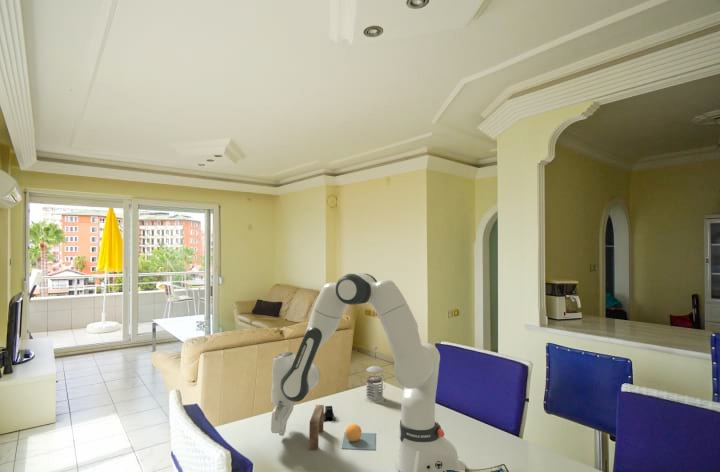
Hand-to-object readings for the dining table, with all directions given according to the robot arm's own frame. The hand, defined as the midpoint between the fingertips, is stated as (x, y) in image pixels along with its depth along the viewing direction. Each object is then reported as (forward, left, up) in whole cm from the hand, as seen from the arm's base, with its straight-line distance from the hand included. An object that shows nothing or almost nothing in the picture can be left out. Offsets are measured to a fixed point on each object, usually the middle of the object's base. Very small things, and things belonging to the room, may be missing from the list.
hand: (282, 433), depth 143 cm
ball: (-27, 0, +1) cm, 27 cm away
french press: (-35, -40, -2) cm, 53 cm away
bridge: (-13, 0, -2) cm, 13 cm away
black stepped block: (-15, -19, -2) cm, 25 cm away
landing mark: (-29, 0, -2) cm, 29 cm away
